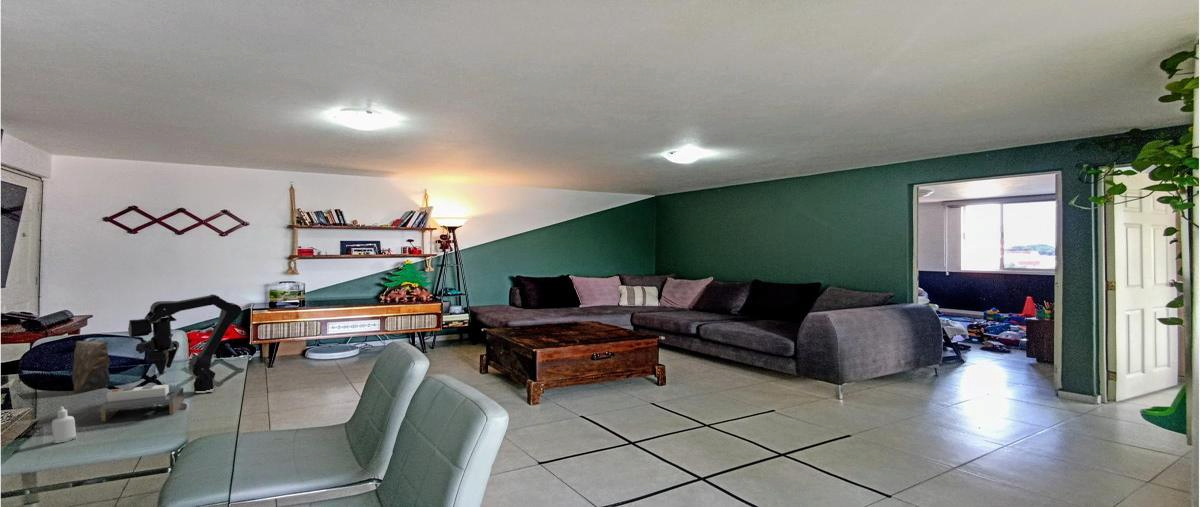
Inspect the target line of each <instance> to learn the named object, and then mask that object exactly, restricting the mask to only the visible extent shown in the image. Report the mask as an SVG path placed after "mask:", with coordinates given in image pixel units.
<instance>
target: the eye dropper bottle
mask: <svg viewBox="0 0 1200 507" xmlns="http://www.w3.org/2000/svg"><path fill="white" fill-rule="evenodd" d="M51 429H52V430H51V431H52V439H54V440H64V439H68V438H71V437H75V436H76V437H77V429H76V420H75V418H74V416H72V415H68V410H67V408H66V409H65V407H64V406H60V407H59V410H58V411H57V417H56V418H55V419H53V420H52V421H51Z"/></svg>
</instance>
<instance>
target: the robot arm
mask: <svg viewBox="0 0 1200 507" xmlns="http://www.w3.org/2000/svg"><path fill="white" fill-rule="evenodd" d="M209 306H215V307H216V308H218V309H220V312H219V316H218V317H219V318H218V322H217V324H216V326H215V327H214V329H213V331H212V332H211V334H210V336H209V337H208V339H207V341H206V342H205V344H204V346H203V347H202V349H201V351H200V352H199V353H198V354H197V355H196V354H193V355H192V356H191V359H190V360H189V362H187V364H188V367H187V368H188V369H187V370H188V371H189V373H191V374H192V375H194V376H195V377H196V378H194V382H193V391H194V392H195V391H206V390H210V389H213V388H214V387H216V384H215V383H216V382H215V381H216V380H215V377H216V372H215V371H213V370H211V364H212V359H213V356H214V354H215V353H216V350H217V349H218V347H219V345H220V343H221V341H222V340H223V338H224V336H225V335H226V332H228V329H229V327H230V326H231V325H232V324H234V323H235V321H237V319H238V318H239V317H240V316H241V315H242V313H243V312H242V311H243V310H242V307H241V306H240V305H238V304H236V303H234V302H228V301H227V300H225V299H223V298H221V297H220V296H219V295H216V294H213V293H212V294H210V295H204V296H199V297H194V298H188V299H183V300H175V301H174V300H164V301H163V300H161V301H160V300H159V301H155V302H153V303H152V305H150V308H149V311H148V312H147V313H146V315H145V317H144V318H139V319H129V322H128V327H127V329H128V335H129V336H128V337H129V338H138V337H145V336H146V337H147V336H149V334H151V333H152V334H153V335H152V337H151V339H150V340H148V341H144V342H140V343H136V346H135V351H136V352H138V354H139V355H140V354H143V353H145V352H148V351H150V350H151V351H150V352H148V354H146V361H149V362H151V363H153V364H154V366H155V367H156V369H157V372H158V374H159V375H163V374H164V372H165V370H166V368H167V369H170V368H171V367H172V364H173V361H174V360H175V356H176V354H177V352H178V351H179V348H180V342H179V341H177V340H172V337H174V334H173V333H172V328H171V326H172V325H171V322H177V318H176V317H173V315H174V314H177V313H179V312H183V311H186V310H187V311H188V310H191V309H197V308H203V307H209Z"/></svg>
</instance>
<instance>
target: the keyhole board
mask: <svg viewBox="0 0 1200 507" xmlns="http://www.w3.org/2000/svg"><path fill="white" fill-rule="evenodd" d="M184 396H185V395H184V387H183V386H182V387H173V388H172V387H171V388H169V393H168V394H167V395H166V396H160V397H150V398H140V399H130V400H120V401H110V402H107V400H106V401H105V402H104V403H103V404H101V405H100V416H101V417H100V418H101V423H106V422H107V421H109V420H110V419H111V418H112V417H113V416H114V415H115V414H116V413H117V412H118V411H119V410H120V409H121V408H117V407H122V408H127V407H132V406H133V407H134V406H143V405H149V404H151V405H156V404H155V403H159V404H163V403H168V405H169V406H168V409H169V415H174V414H176V412H178V410H179V409H180V408H181V406H182V405H183V404H184V403H183V401H184V402H185V397H184ZM182 403H183V404H182ZM181 404H182V405H181ZM126 406H127V407H126Z"/></svg>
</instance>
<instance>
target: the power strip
mask: <svg viewBox="0 0 1200 507" xmlns="http://www.w3.org/2000/svg"><path fill="white" fill-rule="evenodd" d="M169 389H170V388H169V384H159V385H156V384H155V385H148V386H136V387H135V386H134V387H126V388H114V389H110V390H109V391H108V392H107V393H106V399H107V400H106V401H107V402H110V401H120V400H130V399H140V398H150V397H160V396H168V395H167V394H168V393H169ZM159 404H160V403H155V404H154V405H159ZM148 405H149V406H151V405H152V404H148ZM127 407H128V406H126V407H125V408H127ZM117 408H120V409H121V408H122V409H123V407H117Z"/></svg>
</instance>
